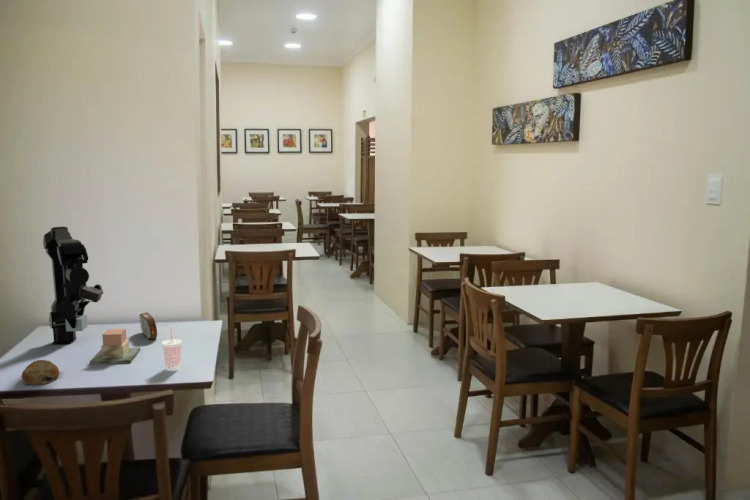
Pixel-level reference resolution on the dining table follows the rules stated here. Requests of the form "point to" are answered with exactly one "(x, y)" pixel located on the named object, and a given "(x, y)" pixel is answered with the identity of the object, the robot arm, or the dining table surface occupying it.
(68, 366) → the dining table surface
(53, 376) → the bread roll
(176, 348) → the beverage cup
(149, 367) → the dining table surface
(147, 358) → the dining table surface
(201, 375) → the dining table surface
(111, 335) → the terracotta brick
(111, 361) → the build board
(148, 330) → the tin
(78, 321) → the gray brick
